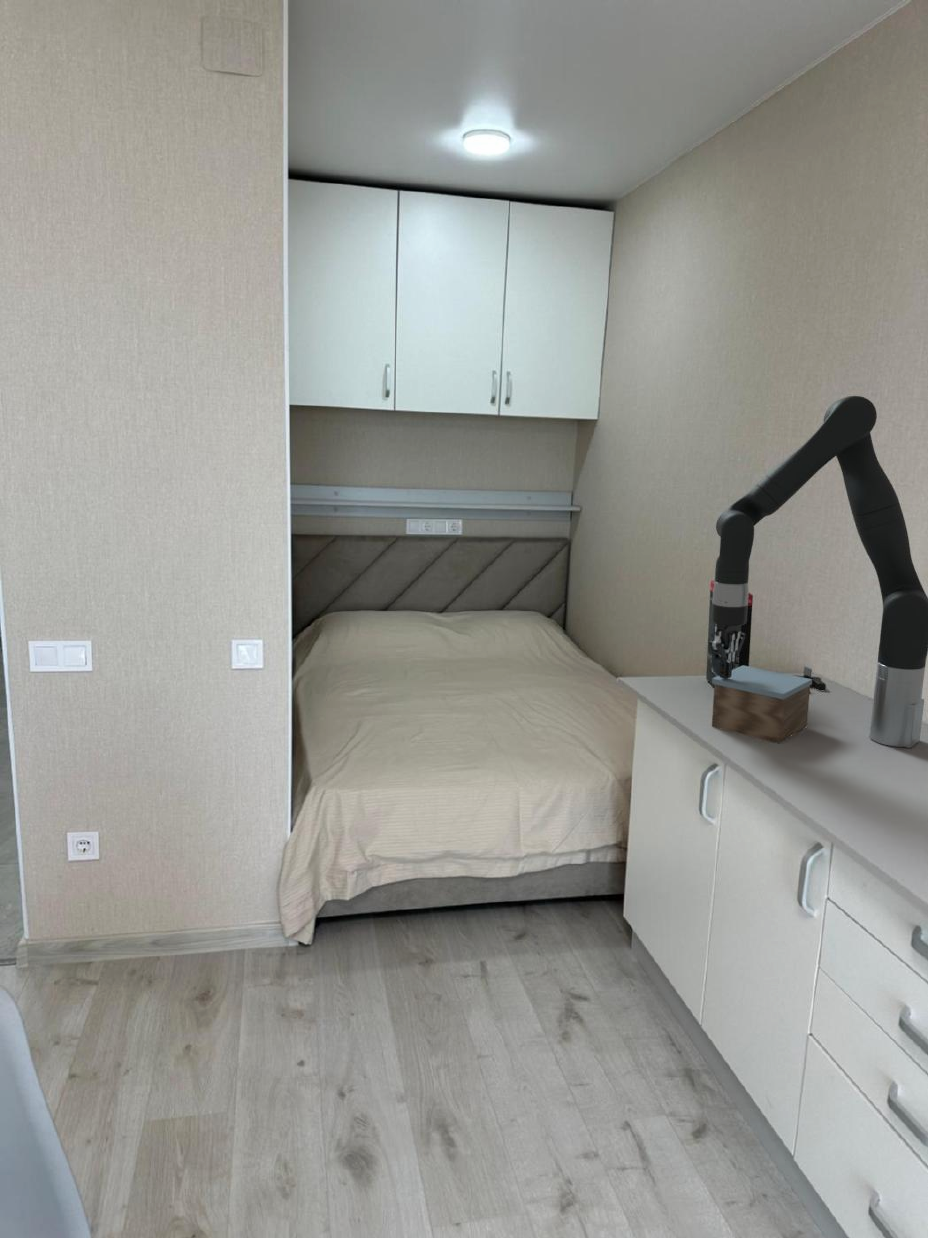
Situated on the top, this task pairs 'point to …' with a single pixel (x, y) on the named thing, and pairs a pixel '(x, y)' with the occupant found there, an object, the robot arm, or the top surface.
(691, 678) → the top surface
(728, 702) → the walnut box
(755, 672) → the lid
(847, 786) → the top surface
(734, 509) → the robot arm
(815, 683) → the toy gun
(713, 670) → the graphics card box
